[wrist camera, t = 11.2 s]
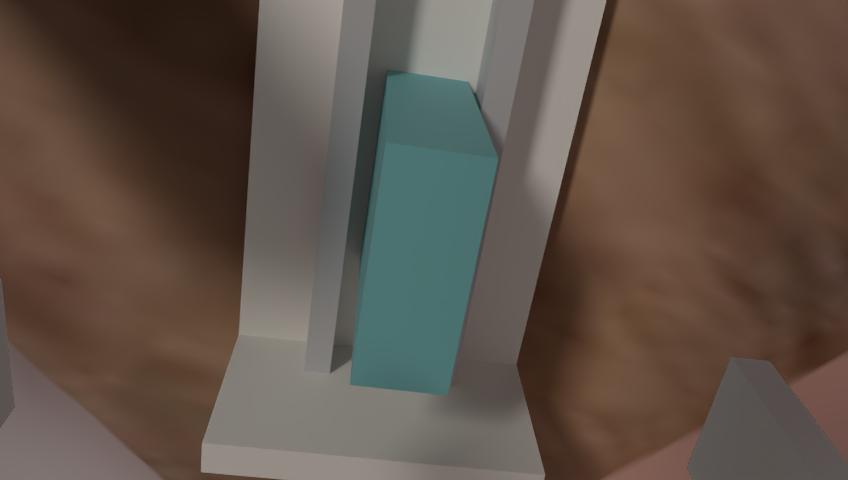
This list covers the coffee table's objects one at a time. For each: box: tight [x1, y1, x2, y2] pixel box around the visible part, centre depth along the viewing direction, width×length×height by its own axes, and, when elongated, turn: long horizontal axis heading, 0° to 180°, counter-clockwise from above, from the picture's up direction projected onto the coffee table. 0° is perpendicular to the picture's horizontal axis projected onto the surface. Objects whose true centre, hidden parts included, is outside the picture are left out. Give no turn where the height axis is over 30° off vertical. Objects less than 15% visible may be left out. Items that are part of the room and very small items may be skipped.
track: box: [201, 0, 606, 480], centre depth 31 cm, size 22×14×9 cm, turn 171°
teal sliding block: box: [350, 69, 499, 396], centre depth 29 cm, size 9×4×10 cm, turn 171°
